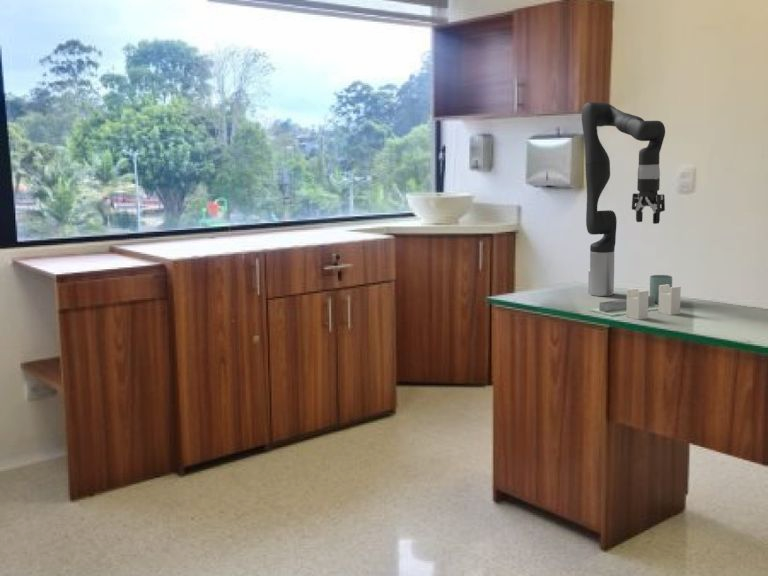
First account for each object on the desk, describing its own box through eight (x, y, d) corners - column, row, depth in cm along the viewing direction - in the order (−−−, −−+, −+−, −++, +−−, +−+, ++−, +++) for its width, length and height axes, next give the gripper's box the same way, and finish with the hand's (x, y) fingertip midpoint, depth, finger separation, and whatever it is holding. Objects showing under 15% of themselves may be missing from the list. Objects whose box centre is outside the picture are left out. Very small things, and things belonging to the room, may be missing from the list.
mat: (589, 310, 276) (589, 309, 276) (642, 303, 285) (642, 302, 285) (611, 316, 265) (611, 314, 265) (665, 308, 274) (665, 307, 274)
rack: (626, 316, 264) (626, 289, 262) (667, 310, 271) (667, 284, 269) (638, 319, 258) (639, 291, 257) (679, 313, 265) (680, 286, 263)
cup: (673, 305, 280) (674, 278, 278) (650, 305, 282) (651, 278, 280) (669, 301, 287) (670, 274, 286) (648, 301, 289) (648, 274, 287)
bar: (599, 310, 272) (599, 302, 272) (648, 304, 280) (648, 296, 280) (604, 312, 269) (605, 304, 269) (654, 305, 278) (654, 297, 277)
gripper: (626, 177, 280) (625, 222, 283) (654, 178, 267) (653, 224, 270) (643, 177, 283) (642, 220, 286) (671, 177, 270) (670, 223, 273)
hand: (647, 222), depth 278 cm, fingers open, 8 cm apart
